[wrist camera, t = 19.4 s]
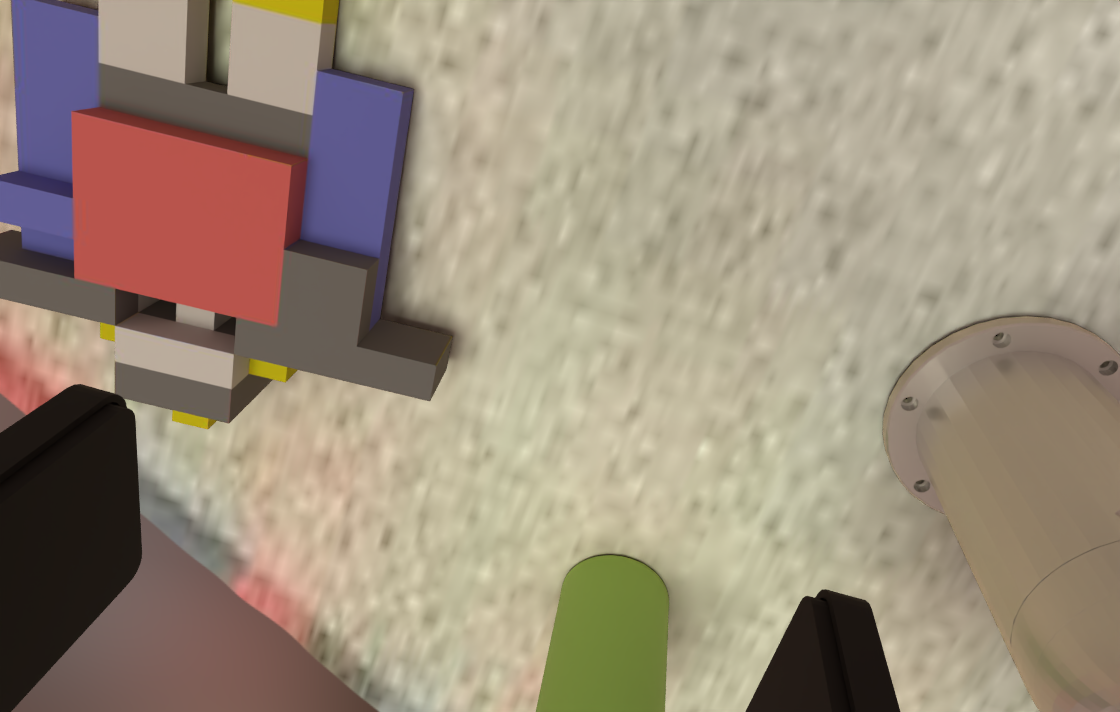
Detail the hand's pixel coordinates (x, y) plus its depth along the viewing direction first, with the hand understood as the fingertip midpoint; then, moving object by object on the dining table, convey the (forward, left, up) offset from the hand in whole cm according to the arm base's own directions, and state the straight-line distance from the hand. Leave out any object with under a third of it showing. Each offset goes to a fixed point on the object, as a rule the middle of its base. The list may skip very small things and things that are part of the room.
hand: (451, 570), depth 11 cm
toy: (+19, +7, -33) cm, 39 cm away
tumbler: (-7, +30, -32) cm, 45 cm away
